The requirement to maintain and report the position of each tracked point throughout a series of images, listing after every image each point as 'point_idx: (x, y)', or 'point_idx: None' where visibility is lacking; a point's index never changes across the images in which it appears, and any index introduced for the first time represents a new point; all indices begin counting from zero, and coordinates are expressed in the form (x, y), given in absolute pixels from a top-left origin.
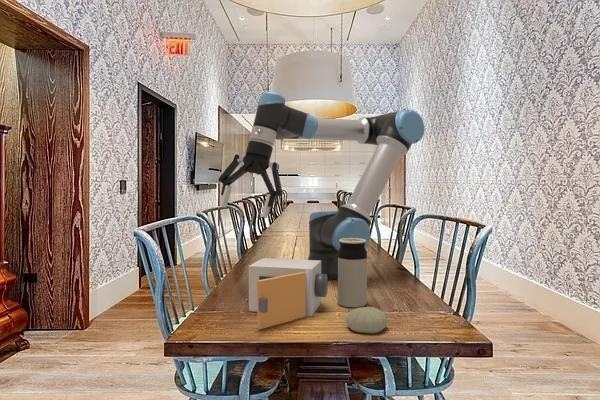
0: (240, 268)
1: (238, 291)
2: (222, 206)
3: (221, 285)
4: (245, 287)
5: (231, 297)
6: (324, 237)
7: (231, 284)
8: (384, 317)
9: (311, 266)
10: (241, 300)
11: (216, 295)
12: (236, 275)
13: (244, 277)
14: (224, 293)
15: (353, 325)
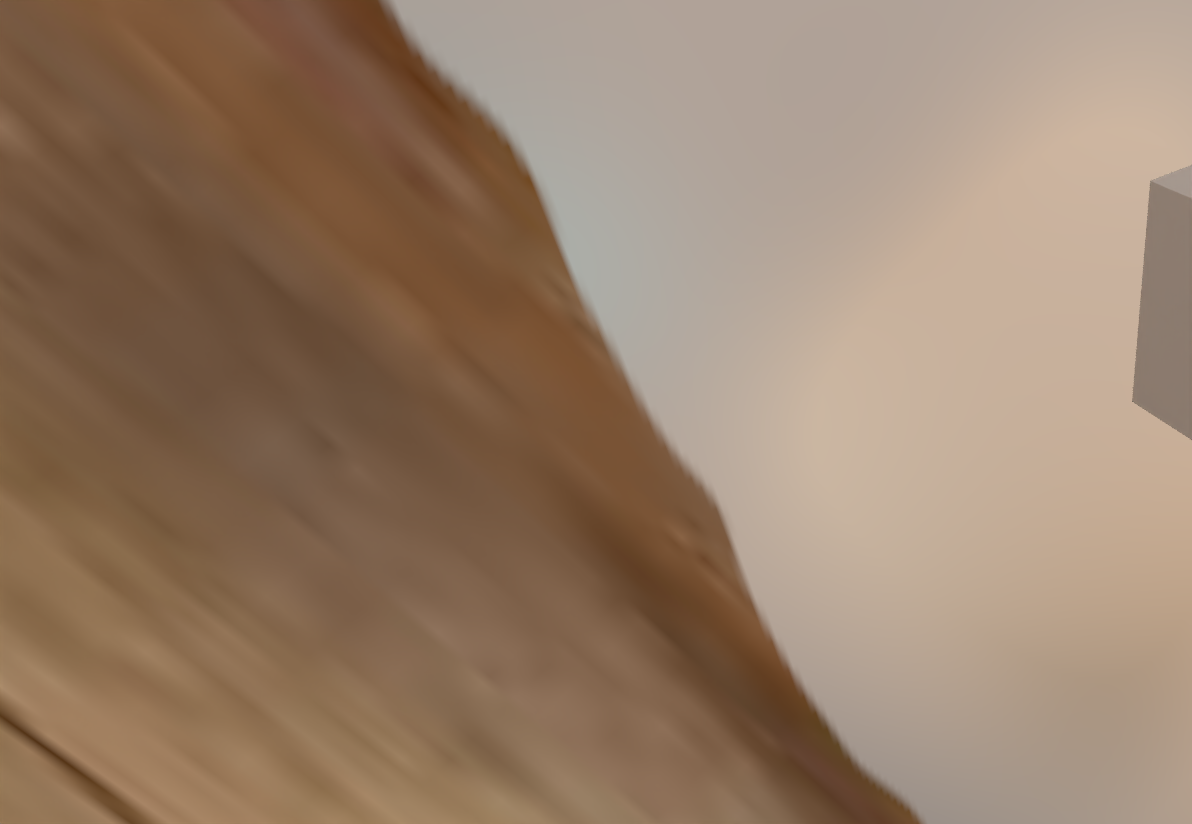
0: (847, 810)
1: (316, 295)
2: (1158, 182)
3: (598, 341)
4: (374, 443)
5: (195, 81)
6: None
7: (554, 426)
8: None
9: None
10: (6, 53)
11: (376, 49)
12: (728, 652)
13: (632, 662)
14: (370, 153)
15: None
